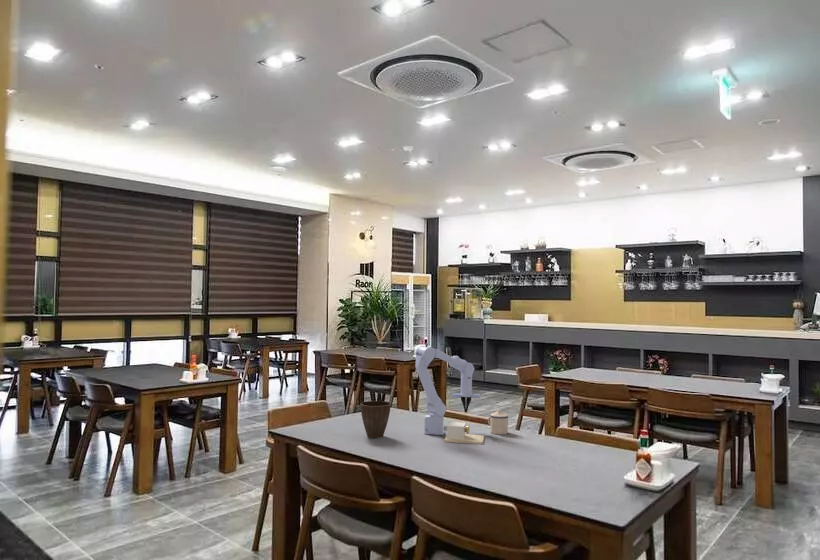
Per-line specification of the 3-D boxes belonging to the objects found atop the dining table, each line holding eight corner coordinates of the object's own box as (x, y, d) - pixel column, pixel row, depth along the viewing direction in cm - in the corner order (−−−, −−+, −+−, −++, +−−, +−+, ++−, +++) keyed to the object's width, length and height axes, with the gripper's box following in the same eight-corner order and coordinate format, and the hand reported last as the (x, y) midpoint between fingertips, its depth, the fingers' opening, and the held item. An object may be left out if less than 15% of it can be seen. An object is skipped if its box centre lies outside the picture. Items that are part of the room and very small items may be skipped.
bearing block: (444, 441, 269) (444, 426, 269) (447, 435, 283) (447, 420, 283) (482, 444, 266) (482, 428, 266) (483, 437, 280) (484, 422, 280)
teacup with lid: (511, 433, 289) (512, 410, 290) (499, 435, 284) (499, 412, 284) (494, 429, 299) (494, 406, 299) (482, 431, 293) (482, 408, 294)
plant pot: (354, 438, 273) (354, 404, 273) (367, 431, 286) (368, 399, 287) (382, 441, 267) (383, 407, 268) (395, 435, 281) (395, 402, 281)
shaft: (443, 433, 274) (443, 425, 274) (444, 431, 278) (444, 423, 278) (468, 434, 272) (468, 426, 272) (469, 432, 276) (469, 424, 276)
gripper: (452, 386, 292) (451, 412, 291) (480, 387, 290) (480, 413, 290) (452, 384, 299) (451, 410, 298) (480, 385, 298) (479, 411, 297)
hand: (465, 412), depth 295 cm, fingers closed
